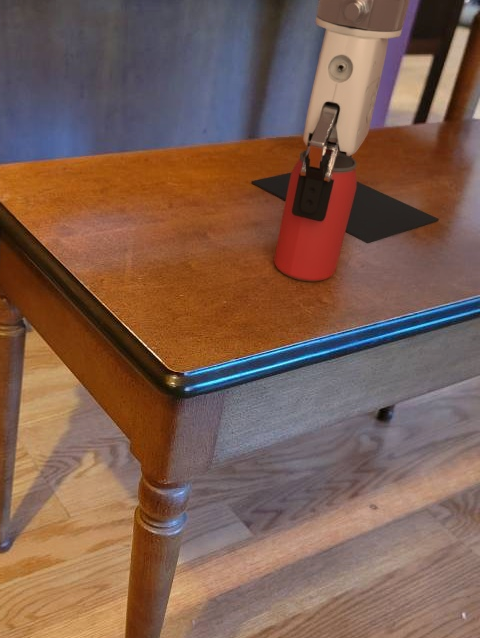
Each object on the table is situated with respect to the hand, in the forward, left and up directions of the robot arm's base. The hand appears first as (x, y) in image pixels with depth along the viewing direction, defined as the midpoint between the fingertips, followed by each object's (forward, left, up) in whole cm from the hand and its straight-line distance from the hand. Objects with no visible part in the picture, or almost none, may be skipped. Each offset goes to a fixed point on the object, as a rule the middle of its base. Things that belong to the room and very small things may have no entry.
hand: (318, 200), depth 74 cm
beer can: (0, 0, -8) cm, 8 cm away
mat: (+11, -19, -8) cm, 23 cm away
